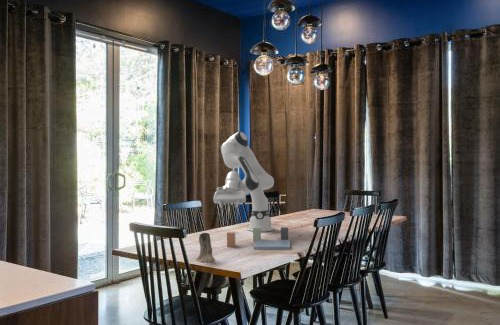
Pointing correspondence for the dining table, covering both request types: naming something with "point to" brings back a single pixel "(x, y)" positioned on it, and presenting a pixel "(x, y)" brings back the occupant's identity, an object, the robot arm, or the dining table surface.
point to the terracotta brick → (231, 239)
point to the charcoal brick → (284, 233)
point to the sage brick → (256, 233)
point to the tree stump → (205, 248)
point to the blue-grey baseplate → (272, 244)
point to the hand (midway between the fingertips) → (228, 206)
